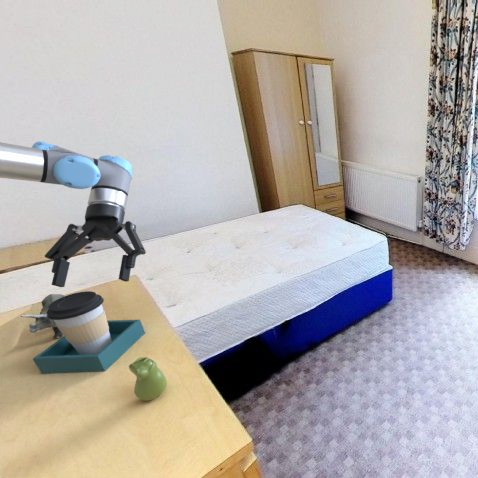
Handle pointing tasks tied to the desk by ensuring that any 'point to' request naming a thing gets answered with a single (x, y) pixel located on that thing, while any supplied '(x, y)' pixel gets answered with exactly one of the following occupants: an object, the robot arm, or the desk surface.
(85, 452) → the desk surface
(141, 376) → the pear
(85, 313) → the coffee cup
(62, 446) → the desk surface
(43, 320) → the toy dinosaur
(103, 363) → the tray
